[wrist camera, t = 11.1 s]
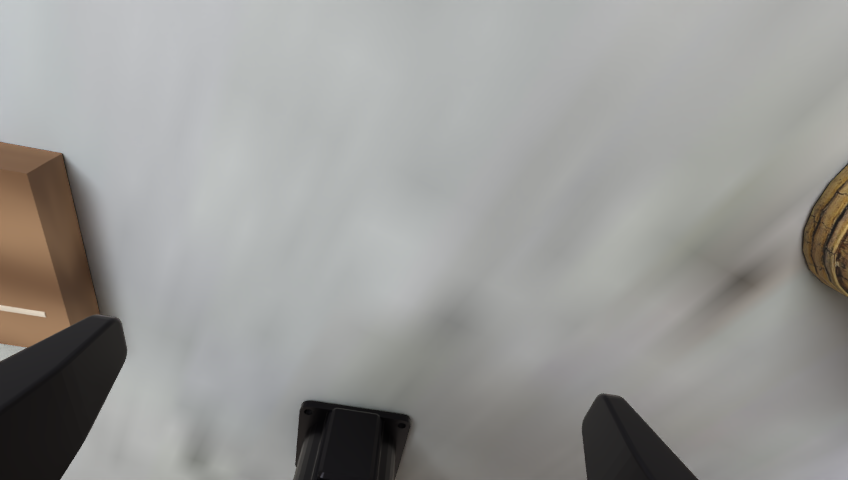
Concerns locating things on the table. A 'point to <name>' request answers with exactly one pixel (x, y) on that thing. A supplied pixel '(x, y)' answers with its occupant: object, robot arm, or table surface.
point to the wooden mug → (829, 235)
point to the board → (39, 249)
